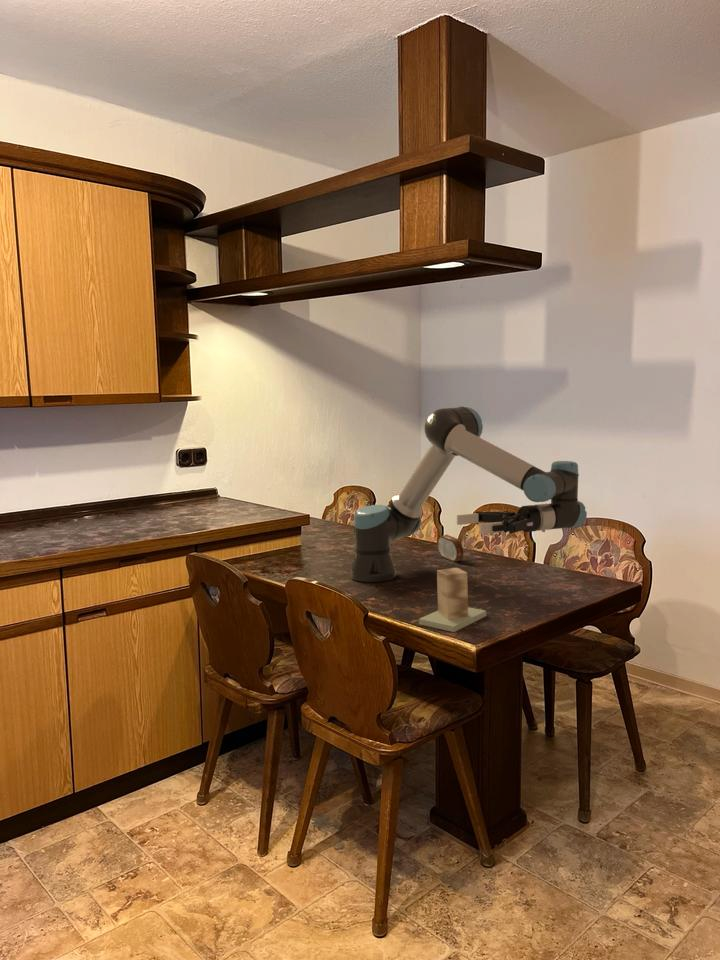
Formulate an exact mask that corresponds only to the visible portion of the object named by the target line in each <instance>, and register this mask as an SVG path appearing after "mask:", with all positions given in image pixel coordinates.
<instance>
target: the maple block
mask: <svg viewBox="0 0 720 960" xmlns="http://www.w3.org/2000/svg"><path fill="white" fill-rule="evenodd" d="M436 585H437V586H436V587H437V590H436V591H437V592H436V593H437V611H438V613H439V614H440V615H442V616H443V617H445V618H446V619H454V618H460V617H467V616H468V607H469V604H468V603H469V602H468V600H469V598H468V597H469V596H468V588H469V587H468V572H467V571H465V570H462V569H461V568H459V567H451V568H450V567H449V568H443V569H442V568H441V569H436Z"/></svg>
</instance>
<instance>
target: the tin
mask: <svg viewBox="0 0 720 960" xmlns="http://www.w3.org/2000/svg"><path fill="white" fill-rule="evenodd" d="M437 549H438V553H439V554H440V556H441V557H442V558H444V559H447V560H448V561H451V562H454V563H456V562H461V561H462V560H463V557H464V549H463V545H462V543H461V541H460V540H459V538H456V537H453V536H451V535H450V534H444V535H440V536H439V537H438V539H437Z"/></svg>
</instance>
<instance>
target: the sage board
mask: <svg viewBox="0 0 720 960" xmlns="http://www.w3.org/2000/svg"><path fill="white" fill-rule="evenodd" d="M486 617H487V610H485V609H480V608H475V607H469V606H468V616H467V617H460V618H454V619H446V618H445V617H443V616H442V615H440V614H439V613H438V610H436V611H433V612H431V613H429V614H426V615H423V617H419V618H418V625H420V626H424V627H429V628H433V629H438V630H443V631H446V632H451V633H455V632H457V631H459V630H461V629H463V628H465V627H467V626H469V625H471V624H473V623H476V622H477V621H479V620H481V619H483V618H486Z"/></svg>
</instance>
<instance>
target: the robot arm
mask: <svg viewBox="0 0 720 960" xmlns="http://www.w3.org/2000/svg"><path fill="white" fill-rule="evenodd" d="M482 420H483V419H482V418H481V416H480V414H479V412H477V410H475V409H473V408H472V407H468V406H458V407H447V408H438V409H436V410H434V411H432V412H431V413H430V414H429V415H428V417H426V420H425V422H424V428H423V429H424V434H425V437H426V438H427V441H429V442H430V443H431V444H430V446H429V447H428V449H427V450H426V452H425V454H424V455H423V457H422V459H421V460H420V461H419V463H418V465H417V466H416V468H415V469H414V471H413V473H412V474H411V476H410V477H409V479H408V481H407V482H406V484H405V486H404V487H403V488H402V490H401V492H400V493H399V494H395V495H393V496H392V498H391V500H390V501H389V503H388V505H383V504H371V505H365V506H362V507H360V508H358V509H357V510H356V511H355V513H354V515H353V517H354V518H353V519H354V520H353V527H354V529H353V530H354V547H355V548H354V549H355V550H354V553H355V556H354V559H353V561H352V566H351V570H350V578H351V579H352V580H354V581H356V582H357V581H358V582H361V583H380V582H386V581H390V580H393V579H395V578H396V577H397V568H396V566H395V565H394V562H393V561H394V560H393V558H392V555H391V542H393V541H397V540H401V539H405V538H407V537H408V538H409V537H410V536H412V535H414V534H415V533H417V531H418V530H419V528H420V527H421V524H422V519H421V517H422V515H423V509H422V507H423V505H425V502H427V500H428V498H429V497H430V495H431V493H433V490H434V489H435V487H436V486H437V485H438V483H439V482H440V480H441V478H442V477H443V475H444V473H445V472H446V470H447V469H448V468H449V466H450V465H451V463H452V461H453V460H454V459H455V457H461V458H463V459H465V460H466V461H468V462H470V463H472V464H474V465H475V466H477V467H479V468H481V469H483V470H485V471H486V472H488V473H490V474H492V475H493V476H495V477H498V478H499V479H501V480H503V481H505V482H507V483H509V484H511V485H512V486H514V487H516V488H517V489H519V490H521V491H522V492H523V493H524V495H525V496H526V498H527V499H528V500H529V501H530V502H533V503H539V504H532V505H529V504H528V505H523V506H522V505H521V507H519V508H518V511H517V512H516V511H508V510H505V511H504V510H503V511H475V513H467V514H457V515H456V525H457V526H458V525H459V526H462V525H470V524H471V525H472V524H476V525H479V535H485V534H487V535H488V534H496V533H497V534H499V533H509V534H516V533H520V532H524V533H529V532H530V533H531V532H537V531H539V532H542V533H545V532H546V530H547V531H548V530H549V531H550V530H559V529H571V528H577V527H580V526H583V525H584V524H585V522H586V520H587V517H588V515H587V514H588V513H587V511H586V506H585V504H584V503H583V502H581V501H579V499H578V497H579V496H578V494H579V492H578V491H579V490H578V489H579V477H580V474H579V465H578V463H577V462H575V461H572V460H571V461H570V460H558V461H556V460H555V461H553V462H552V463H551V468H550V471H545V470H543V469H541V468H538V467H536V466H535V465H534V464H531V463H529V462H527V461H525V460H524V459H522V458H519V457H518V456H516V455H514V454H512V453H510V452H508V451H506V450H505V449H502V448H500V447H499V446H497V445H494V444H493V443H491V442H489V441H487V440H485V439H483V437H482V438H481V436H482V434H483V427H484V426H483V425H484V424H483V421H482ZM547 501H550V503H546V502H547ZM544 502H545V503H544Z"/></svg>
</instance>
